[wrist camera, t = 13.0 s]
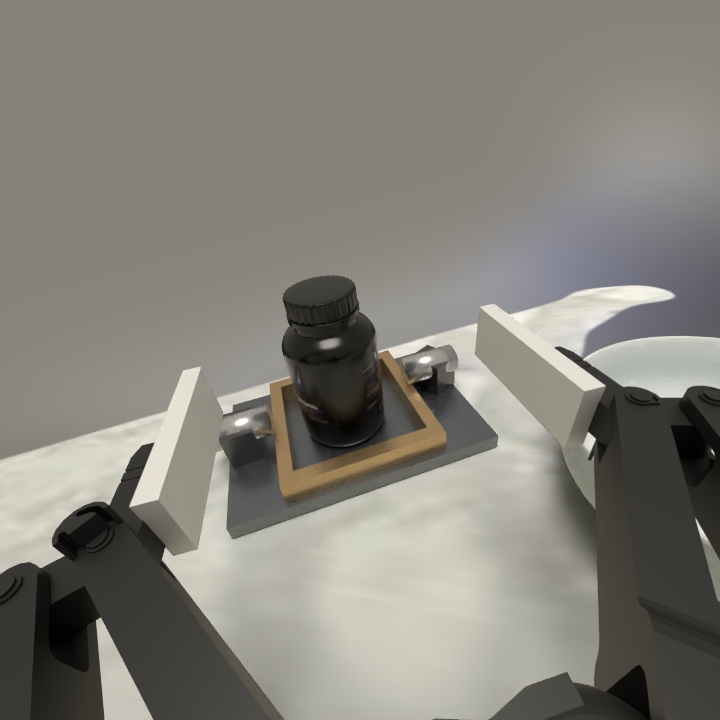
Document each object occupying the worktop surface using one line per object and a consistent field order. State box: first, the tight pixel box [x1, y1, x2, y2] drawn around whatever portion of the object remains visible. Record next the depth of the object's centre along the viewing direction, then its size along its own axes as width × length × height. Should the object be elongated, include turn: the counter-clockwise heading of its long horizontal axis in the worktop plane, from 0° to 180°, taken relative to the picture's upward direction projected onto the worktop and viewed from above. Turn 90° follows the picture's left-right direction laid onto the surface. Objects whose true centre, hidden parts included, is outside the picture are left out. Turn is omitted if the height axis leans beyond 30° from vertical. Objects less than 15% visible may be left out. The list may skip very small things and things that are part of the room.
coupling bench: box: [216, 345, 498, 539], centre depth 28 cm, size 21×13×5 cm, turn 106°
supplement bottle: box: [282, 275, 384, 447], centre depth 25 cm, size 7×7×12 cm
